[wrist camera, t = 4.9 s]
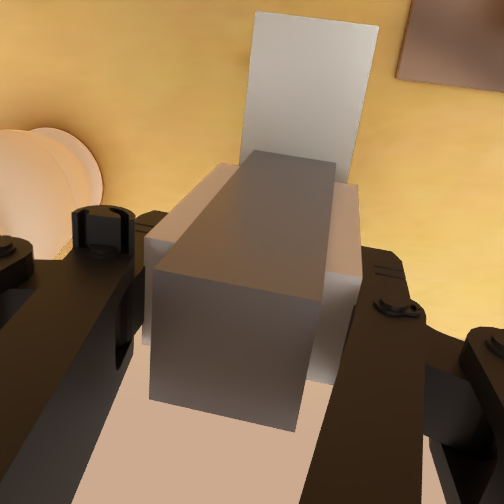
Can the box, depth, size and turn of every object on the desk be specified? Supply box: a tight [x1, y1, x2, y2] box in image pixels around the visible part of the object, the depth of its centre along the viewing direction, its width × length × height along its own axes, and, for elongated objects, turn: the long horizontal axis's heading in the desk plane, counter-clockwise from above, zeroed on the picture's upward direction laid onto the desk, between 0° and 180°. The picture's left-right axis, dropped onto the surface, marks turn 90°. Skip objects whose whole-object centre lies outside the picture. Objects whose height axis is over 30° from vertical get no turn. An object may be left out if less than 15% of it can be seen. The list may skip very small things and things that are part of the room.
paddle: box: [149, 10, 379, 432], centre depth 15 cm, size 12×4×13 cm, turn 173°
